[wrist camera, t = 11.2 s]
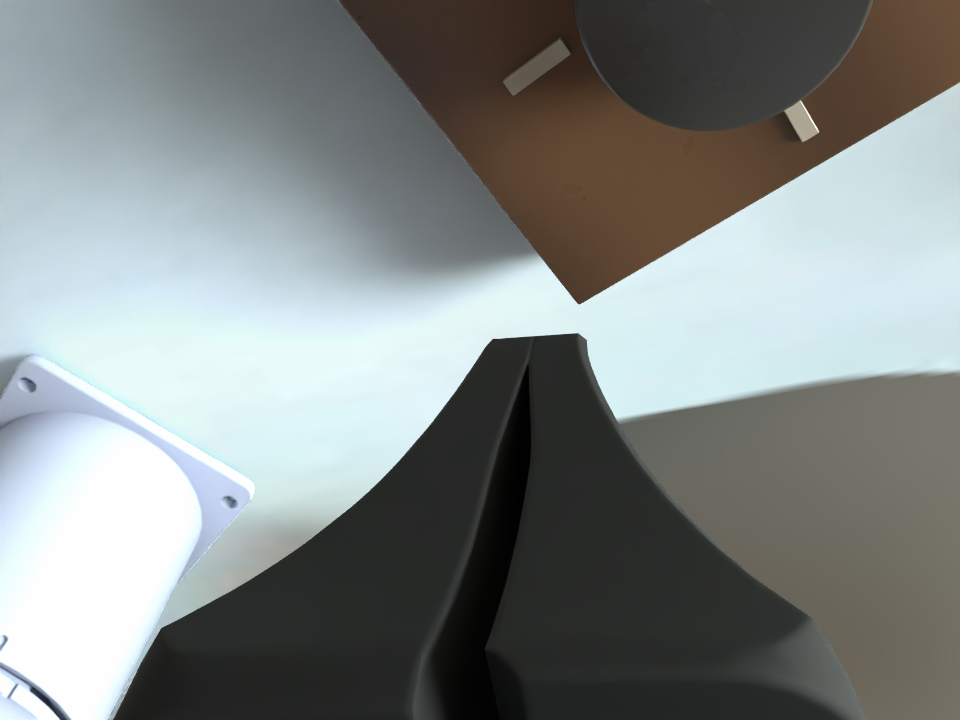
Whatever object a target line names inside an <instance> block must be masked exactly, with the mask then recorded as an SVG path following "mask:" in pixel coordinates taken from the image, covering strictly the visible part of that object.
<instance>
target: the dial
mask: <svg viewBox="0 0 960 720" xmlns="http://www.w3.org/2000/svg"><path fill="white" fill-rule="evenodd" d="M872 2H873V0H574V7H575V15H576V22H577V27H578V30H579V34H580V38H581V41H582V44H583V46H584V49H585V51H586V54H587V56H588V58H589V60H590V62H591V64H592V65H593V67H594V69H595V71H596V72H597V74H598V75H599V77H600V78H601V79H602V81H603V82H604V83H605V84H606V86H607V87H608V88H609V89H610V90H611V91H612V92H613V93H614V94H615V95H616V96H617V97H618V98H619V99H620V100H621V101H622V102H624V103H625V104H626V105H628V106H629V107H631V108H632V109H633V110H635V111H636V112H638V113H640V114H642V115H644V116H645V117H647V118H649V119H651V120H654V121H656V122H659V123H662V124H664V125H667V126H671V127H676V128H680V129H684V130H694V131H722V130H729V129H735V128H741V127H744V126H748V125H751V124H755V123H758V122H761V121H763V120H765V119H768V118H770V117H773V116H775V115H777V114H779V113H781V112H783V111H784V110H786V109H788V108H790V107H792V106H793V105H795V104H796V103H798V102H799V101H800V100H802V99H803V98H805V97H806V96H808V95H809V94H810V93H811V92H813V91H814V90H815V89H816V88H817V87H818V86H819V85H820V84H822V83H823V82H824V81H825V80H826V79H827V78H828V77H829V76H830V74H831V73H832V72H833V71H834V70H835V69H836V68H837V67H838V66H839V64H840V63H841V62H842V60H843V59H844V57H845V56H846V55H847V53H848V52H849V51H850V49H851V48H852V46H853V44H854V43H855V41H856V39H857V37H858V36H859V34H860V32H861V30H862V28H863V26H864V23H865V21H866V19H867V16H868V14H869V12H870V9H871V6H872Z"/></svg>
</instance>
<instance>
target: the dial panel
mask: <svg viewBox="0 0 960 720" xmlns="http://www.w3.org/2000/svg"><path fill="white" fill-rule="evenodd" d="M338 1H339V2H340V3H341V4H342V6H343V7H344V8H345V10H346V11H347V12H348V13H349V15H350V16H351V17H352V18H353V20H354V21H355V22H356V23H357V25H358V26H359V27H360V29H361V30H362V31H363V32H364V34H365V35H366V36H367V37H368V39H369V40H370V41H371V43H372V44H373V45H374V46H375V48H376V49H377V50H378V51H379V53H380V54H381V55H382V56H383V58H384V59H385V60H386V62H387V63H388V64H389V65H390V67H391V68H392V69H393V70H394V72H395V73H396V74H397V75H398V77H399V78H400V79H401V81H402V82H403V83H404V84H405V86H406V87H407V88H408V89H409V91H410V92H411V93H412V94H413V96H414V97H415V98H416V100H417V101H418V102H419V103H420V105H421V106H422V107H423V108H424V110H425V111H426V112H427V113H428V115H429V116H430V117H431V119H432V120H433V121H434V122H435V124H436V125H437V126H438V127H439V129H440V130H441V131H442V132H443V134H444V135H445V136H446V138H447V139H448V140H449V141H450V143H451V144H452V145H453V146H454V148H455V149H456V150H457V152H458V153H459V154H460V155H461V157H462V158H463V159H464V160H465V162H466V163H467V164H468V165H469V167H470V168H471V169H472V171H473V172H474V173H475V174H476V176H477V177H478V178H479V179H480V181H481V182H482V183H483V184H484V186H485V187H486V188H487V190H488V191H489V192H490V193H491V195H492V196H493V197H494V198H495V200H496V201H497V202H498V203H499V205H500V206H501V207H502V209H503V210H504V211H505V212H506V214H507V215H508V216H509V217H510V219H511V220H512V221H513V222H514V224H515V225H516V226H517V228H518V229H519V230H520V231H521V233H522V234H523V235H524V236H525V238H526V239H527V240H528V242H529V243H530V244H531V245H532V247H533V248H534V249H535V250H536V252H537V253H538V254H539V255H540V257H541V258H542V259H543V261H544V262H545V263H546V264H547V266H548V267H549V268H550V269H551V271H552V272H553V273H554V274H555V276H556V277H557V278H558V280H559V281H560V282H561V283H562V285H563V286H564V287H565V288H566V290H567V291H568V292H569V293H570V295H571V296H572V297H573V299H574V300H575V301H576V302H577V303H578V304H581V303H583V302H585V301H586V300H588V299H590V298H591V297H593V296H595V295H597V294H598V293H600V292H602V291H603V290H605V289H607V288H609V287H610V286H612V285H614V284H615V283H617V282H619V281H621V280H622V279H624V278H626V277H627V276H629V275H631V274H633V273H634V272H636V271H638V270H639V269H641V268H643V267H644V266H646V265H648V264H650V263H651V262H653V261H655V260H656V259H658V258H660V257H662V256H663V255H665V254H667V253H668V252H670V251H672V250H674V249H675V248H677V247H679V246H680V245H682V244H684V243H686V242H687V241H689V240H691V239H692V238H694V237H696V236H698V235H699V234H701V233H703V232H704V231H706V230H708V229H710V228H711V227H713V226H715V225H716V224H718V223H720V222H722V221H723V220H725V219H727V218H728V217H730V216H732V215H734V214H735V213H737V212H739V211H740V210H742V209H744V208H745V207H747V206H749V205H751V204H752V203H754V202H756V201H757V200H759V199H761V198H763V197H764V196H766V195H768V194H769V193H771V192H773V191H775V190H776V189H778V188H780V187H781V186H783V185H785V184H787V183H788V182H790V181H792V180H793V179H795V178H797V177H799V176H800V175H802V174H804V173H805V172H807V171H809V170H811V169H812V168H814V167H816V166H817V165H819V164H821V163H823V162H824V161H826V160H828V159H829V158H831V157H833V156H835V155H836V154H838V153H840V152H841V151H843V150H845V149H846V148H848V147H850V146H852V145H853V144H855V143H857V142H858V141H860V140H862V139H864V138H865V137H867V136H869V135H870V134H872V133H874V132H876V131H877V130H879V129H881V128H882V127H884V126H886V125H888V124H889V123H891V122H893V121H894V120H896V119H898V118H900V117H901V116H903V115H905V114H906V113H908V112H910V111H912V110H913V109H915V108H917V107H918V106H920V105H922V104H924V103H925V102H927V101H929V100H930V99H932V98H934V97H936V96H937V95H939V94H941V93H942V92H944V91H946V90H947V89H949V88H951V87H953V86H954V85H956V84H958V83H959V82H960V0H873V2H872V6H871V9H870V12H869V14H868V16H867V19H866V21H865V23H864V26H863V28H862V30H861V32H860V34H859V36H858V37H857V39H856V41H855V43H854V44H853V46H852V48H851V49H850V51H849V52H848V53H847V55H846V56H845V57H844V59H843V60H842V62H841V63H840V64H839V66H838V67H837V68H836V69H835V70H834V71H833V72H832V73H831V74H830V76H829V77H828V78H827V79H826V80H825V81H824V82H823V83H822V84H820V85H819V86H818V87H817V88H816V89H815V90H814V91H813V92H811V93H810V94H809V95H808V96H806V97H805V98H803V99H802V100H800V101H799V102H798V103H796V104H795V105H793V106H792V107H790V108H788V109H786V110H784V111H783V112H781V113H779V114H777V115H775V116H773V117H770V118H768V119H765V120H763V121H761V122H758V123H755V124H751V125H748V126H744V127H741V128H735V129H729V130H722V131H694V130H684V129H680V128H676V127H671V126H667V125H664V124H662V123H659V122H656V121H654V120H651V119H649V118H647V117H645V116H644V115H642V114H640V113H638V112H636V111H635V110H633V109H632V108H631V107H629V106H628V105H626V104H625V103H624V102H622V101H621V100H620V99H619V98H618V97H617V96H616V95H615V94H614V93H613V92H612V91H611V90H610V89H609V88H608V87H607V86H606V84H605V83H604V82H603V81H602V79H601V78H600V77H599V75H598V74H597V72H596V71H595V69H594V67H593V65H592V64H591V62H590V60H589V58H588V56H587V54H586V51H585V49H584V46H583V44H582V41H581V38H580V34H579V30H578V27H577V22H576V15H575V7H574V0H338Z"/></svg>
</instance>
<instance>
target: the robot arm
mask: <svg viewBox="0 0 960 720" xmlns="http://www.w3.org/2000/svg"><path fill="white" fill-rule="evenodd" d="M26 378H27V379H30V380H31V381H32V382H33V383H34V384H32V383H30V382H29V381H28V380H27V379H26ZM254 492H255V486H254V484H253V483H252V481H250V480H249V479H248V478H246V477H245V476H243V475H241V474H240V473H238V472H236V471H235V470H233V469H231V468H230V467H228V466H226V465H225V464H223V463H221V462H220V461H218V460H216V459H214V458H213V457H211V456H209V455H208V454H206V453H204V452H203V451H201V450H199V449H198V448H196V447H194V446H193V445H191V444H189V443H187V442H186V441H184V440H182V439H181V438H179V437H177V436H176V435H174V434H172V433H171V432H169V431H167V430H166V429H164V428H162V427H161V426H159V425H157V424H155V423H154V422H152V421H150V420H149V419H147V418H145V417H144V416H142V415H140V414H139V413H137V412H135V411H134V410H132V409H130V408H128V407H127V406H125V405H123V404H122V403H120V402H118V401H117V400H115V399H113V398H112V397H110V396H108V395H107V394H105V393H103V392H102V391H100V390H98V389H96V388H95V387H93V386H91V385H90V384H88V383H86V382H85V381H83V380H81V379H80V378H78V377H76V376H75V375H73V374H71V373H69V372H68V371H66V370H64V369H63V368H61V367H59V366H58V365H56V364H54V363H53V362H51V361H49V360H48V359H46V358H44V357H42V356H39V355H33V354H32V355H28V356H26V357H25V358H24V359H23V360H22V361H21V362H20V363H19V364H18V366H17V368H16V369H15V371H14V373H13V375H12V377H11V378H10V380H9V382H8V384H7V386H6V387H5V389H4V391H3V393H2V395H1V396H0V720H108V719H109V717H110V715H111V713H112V711H113V709H114V707H115V705H116V703H117V701H118V699H119V697H120V695H121V693H122V691H123V689H124V687H125V685H126V683H127V681H128V679H129V677H130V675H131V673H132V671H133V669H134V667H135V665H136V663H137V661H138V659H139V657H140V655H141V653H142V651H143V649H144V647H145V645H146V643H147V641H148V639H149V637H150V635H151V633H152V631H153V629H154V627H155V625H156V623H157V621H158V619H159V617H160V615H161V613H162V611H163V609H164V607H165V605H166V603H167V601H168V599H169V597H170V595H171V593H172V591H173V589H174V588H175V587H176V586H177V585H178V584H179V582H180V581H181V580H182V579H183V578H184V577H185V575H186V574H187V573H188V572H189V571H190V570H191V569H192V567H193V566H194V565H195V564H196V563H197V562H198V561H199V559H200V558H201V557H202V556H203V555H204V554H205V552H206V551H207V550H208V549H209V548H210V547H211V546H212V544H213V543H214V542H215V541H216V540H217V539H218V538H219V536H220V535H221V534H222V533H223V532H224V531H225V530H226V528H227V527H228V526H229V525H230V524H231V523H232V521H233V520H234V519H235V518H236V517H237V516H238V515H239V513H240V512H241V511H242V510H243V509H244V508H245V507H246V505H247V504H248V503H249V502H250V501H251V499H252V496H253V494H254ZM228 497H232V498H234V499H235V500H232V499H229V498H228ZM114 720H867V718H866V716H865V714H864V712H863V709H862V707H861V704H860V702H859V700H858V697H857V695H856V693H855V691H854V689H853V686H852V684H851V682H850V680H849V678H848V676H847V674H846V672H845V671H844V669H843V667H842V665H841V663H840V661H839V659H838V657H837V655H836V654H835V652H834V650H833V649H832V647H831V645H830V644H829V642H828V640H827V638H826V637H825V635H824V633H823V632H822V630H821V628H820V627H819V625H818V624H817V622H816V621H815V620H814V619H812V618H811V617H810V616H808V615H807V614H805V613H804V612H802V611H801V610H799V609H798V608H796V607H795V606H794V605H792V604H791V603H789V602H788V601H786V600H785V599H784V598H782V597H781V596H779V595H778V594H776V593H775V592H773V591H772V590H771V589H769V588H768V587H766V586H765V585H764V584H762V583H761V582H760V581H759V580H757V579H756V578H755V577H754V576H753V575H751V574H750V573H749V572H748V571H747V570H745V569H744V568H743V567H742V566H741V565H739V564H738V563H737V562H736V561H734V560H733V559H732V558H731V557H730V556H729V555H728V554H727V553H726V552H725V551H724V550H722V549H721V547H719V546H718V545H717V544H716V543H715V542H714V541H713V540H712V539H711V538H710V537H709V536H708V535H707V534H706V533H705V532H704V531H703V530H702V529H701V528H699V527H698V526H697V524H695V523H694V522H693V521H692V520H691V519H690V518H689V517H688V515H687V514H686V513H685V512H684V511H683V510H682V509H681V508H680V507H679V505H678V504H677V503H676V502H675V501H674V500H673V499H672V498H671V496H670V495H669V494H668V493H667V492H666V490H665V489H664V488H663V487H662V486H661V484H660V483H659V482H658V481H657V479H656V478H655V477H654V476H653V474H652V473H651V472H650V470H649V469H648V468H647V466H646V465H645V464H644V462H643V461H642V459H641V458H640V456H639V455H638V454H637V452H636V451H635V449H634V447H633V446H632V444H631V443H630V441H629V440H628V438H627V437H626V435H625V434H624V432H623V430H622V429H621V427H620V425H619V423H618V422H617V420H616V418H615V416H614V414H613V413H612V411H611V409H610V407H609V405H608V403H607V401H606V399H605V397H604V396H603V393H602V391H601V389H600V387H599V385H598V382H597V380H596V377H595V375H594V372H593V370H592V367H591V364H590V361H589V357H588V351H587V340H586V339H585V338H583V337H582V336H581V335H580V334H578V333H575V334H561V335H547V336H532V337H518V338H503V339H492V341H491V342H490V343H489V344H488V345H487V346H486V347H485V349H484V350H483V352H482V353H481V355H480V356H479V358H478V360H477V361H476V363H475V364H474V366H473V367H472V369H471V370H470V372H469V373H468V374H467V376H466V377H465V379H464V380H463V382H462V383H461V385H460V386H459V387H458V389H457V390H456V392H455V393H454V394H453V396H452V397H451V398H450V400H449V401H448V402H447V404H446V405H445V406H444V408H443V409H442V410H441V412H440V413H439V414H438V416H437V417H436V418H435V419H434V421H433V422H432V423H431V425H430V426H429V427H428V428H427V429H426V431H425V432H424V433H423V434H422V435H421V436H420V438H419V439H418V440H417V441H416V442H415V443H414V445H413V446H412V447H411V448H410V449H409V450H408V451H407V453H406V454H405V455H404V456H403V457H402V458H401V460H400V461H399V462H398V463H397V464H396V465H395V466H394V467H393V468H392V469H391V470H390V471H389V472H388V473H387V474H386V475H385V476H384V477H383V478H382V479H381V480H380V481H379V482H378V483H377V484H376V485H375V486H374V487H373V488H372V489H371V490H370V491H369V492H368V493H367V494H366V495H365V496H363V497H362V498H361V499H360V500H359V501H358V502H357V503H356V504H354V505H353V506H352V507H351V508H350V509H348V510H347V511H346V512H345V513H343V514H342V515H341V516H340V517H338V518H337V519H336V520H334V521H333V522H332V523H331V524H329V525H328V526H327V527H326V528H324V529H323V530H322V531H320V532H319V533H318V534H317V535H315V536H314V537H313V538H312V539H310V540H309V541H308V542H306V543H305V544H304V545H302V546H301V547H299V548H298V549H297V550H295V551H294V552H292V553H291V554H289V555H288V556H286V557H285V558H283V559H282V560H280V561H279V562H278V563H276V564H274V565H273V566H271V567H270V568H268V569H267V570H265V571H263V572H262V573H260V574H259V575H257V576H256V577H254V578H252V579H251V580H249V581H248V582H246V583H244V584H243V585H241V586H239V587H237V588H236V589H234V590H232V591H231V592H229V593H227V594H225V595H223V596H221V597H220V598H218V599H216V600H214V601H212V602H210V603H208V604H207V605H205V606H203V607H201V608H199V609H197V610H196V611H194V612H192V613H190V614H188V615H186V616H184V617H183V618H181V619H179V620H177V621H175V622H173V623H171V624H169V625H167V626H165V627H163V628H161V630H160V632H159V633H158V635H157V637H156V639H155V640H154V642H153V644H152V645H151V647H150V649H149V650H148V652H147V654H146V656H145V657H144V659H143V661H142V662H141V664H140V666H139V668H138V671H137V673H136V675H135V677H134V679H133V681H132V683H131V685H130V687H129V689H128V691H127V693H126V695H125V697H124V699H123V701H122V703H121V705H120V707H119V709H118V711H117V714H116V716H115V718H114Z"/></svg>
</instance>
